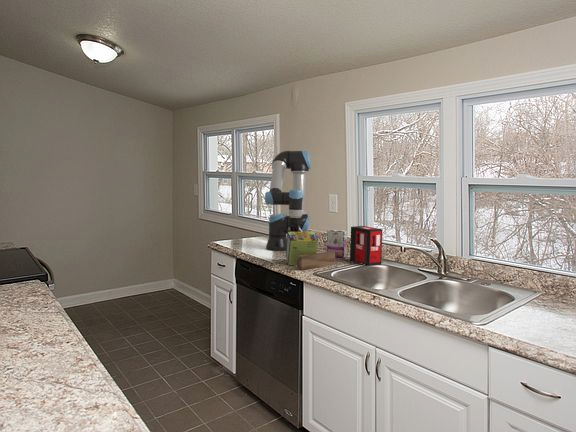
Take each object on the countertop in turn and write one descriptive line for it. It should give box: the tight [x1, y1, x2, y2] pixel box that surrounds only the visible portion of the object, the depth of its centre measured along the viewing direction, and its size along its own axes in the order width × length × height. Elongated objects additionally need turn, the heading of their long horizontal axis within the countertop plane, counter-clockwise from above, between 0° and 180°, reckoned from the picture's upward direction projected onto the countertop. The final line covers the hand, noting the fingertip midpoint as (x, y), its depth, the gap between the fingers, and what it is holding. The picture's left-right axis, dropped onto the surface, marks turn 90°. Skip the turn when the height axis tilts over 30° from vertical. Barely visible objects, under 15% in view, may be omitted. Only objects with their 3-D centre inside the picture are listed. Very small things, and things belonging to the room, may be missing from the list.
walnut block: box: [296, 251, 336, 271], centre depth 232 cm, size 4×24×7 cm, turn 129°
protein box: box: [285, 231, 319, 266], centre depth 238 cm, size 10×15×16 cm
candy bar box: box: [326, 229, 348, 259], centre depth 262 cm, size 11×5×16 cm, turn 62°
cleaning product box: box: [349, 225, 383, 267], centre depth 245 cm, size 16×9×20 cm, turn 31°
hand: (293, 257), depth 246 cm, fingers closed
